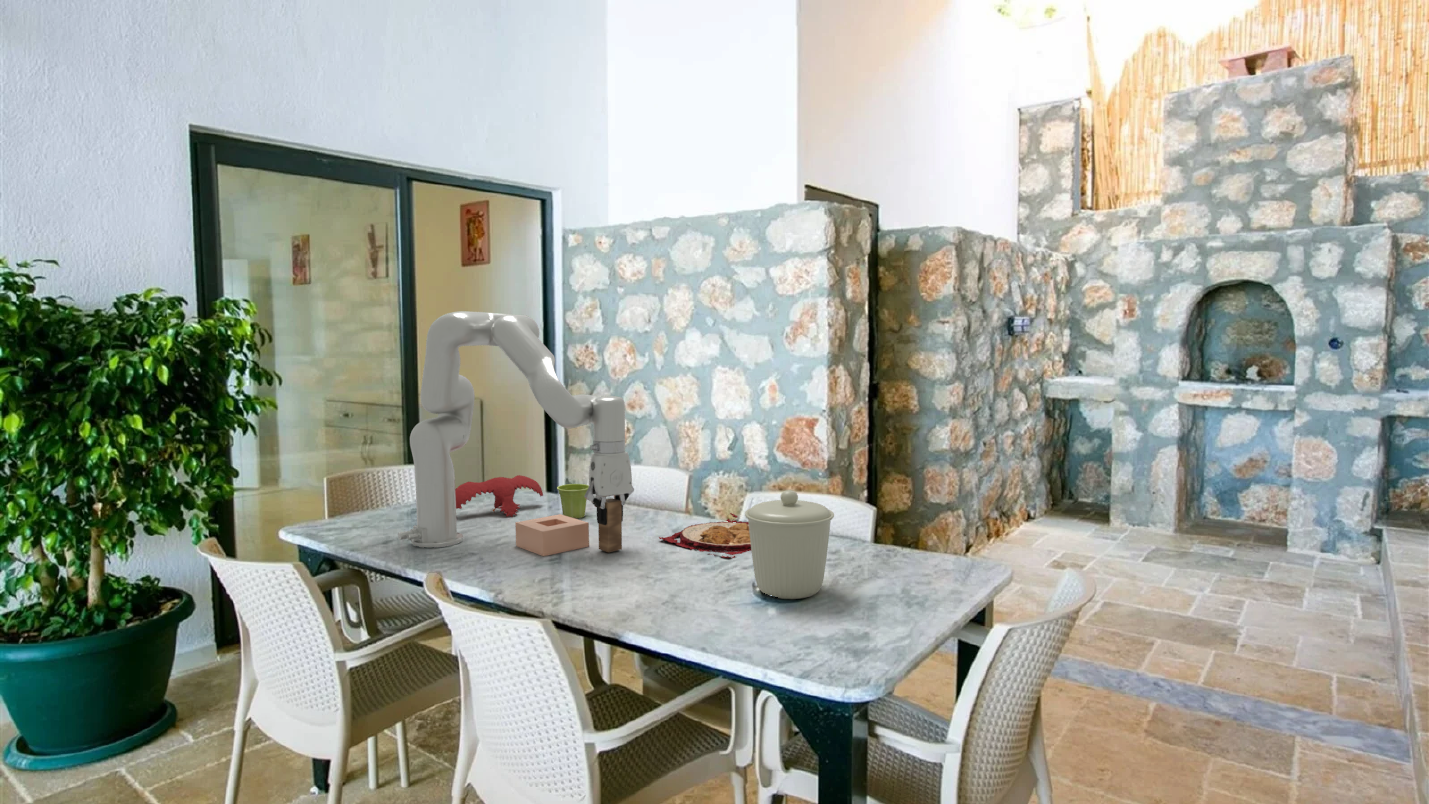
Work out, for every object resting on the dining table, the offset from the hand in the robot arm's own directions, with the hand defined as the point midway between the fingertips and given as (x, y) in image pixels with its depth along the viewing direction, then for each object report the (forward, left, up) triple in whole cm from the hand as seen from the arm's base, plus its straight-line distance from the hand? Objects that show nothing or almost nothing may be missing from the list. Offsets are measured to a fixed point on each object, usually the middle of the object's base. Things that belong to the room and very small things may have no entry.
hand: (610, 521), depth 205 cm
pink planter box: (-8, +14, -7) cm, 17 cm away
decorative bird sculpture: (+1, +56, -7) cm, 56 cm away
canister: (+8, -51, -7) cm, 52 cm away
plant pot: (+14, +38, -7) cm, 41 cm away
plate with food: (+28, -12, -8) cm, 32 cm away
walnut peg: (0, 0, -7) cm, 7 cm away
